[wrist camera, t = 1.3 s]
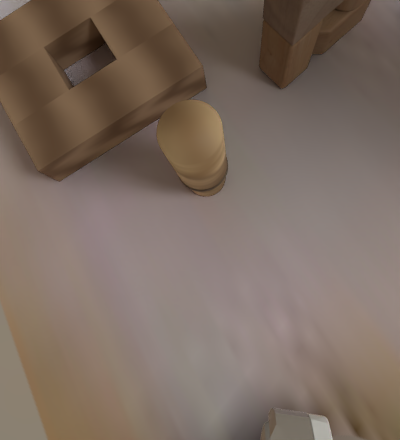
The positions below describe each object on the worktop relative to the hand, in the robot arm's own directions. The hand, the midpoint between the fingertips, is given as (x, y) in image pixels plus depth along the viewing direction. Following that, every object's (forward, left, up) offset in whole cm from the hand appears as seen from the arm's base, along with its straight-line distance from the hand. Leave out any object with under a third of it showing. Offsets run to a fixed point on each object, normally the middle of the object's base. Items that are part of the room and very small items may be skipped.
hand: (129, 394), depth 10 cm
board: (-3, -27, -24) cm, 36 cm away
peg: (-7, -11, -24) cm, 27 cm away
